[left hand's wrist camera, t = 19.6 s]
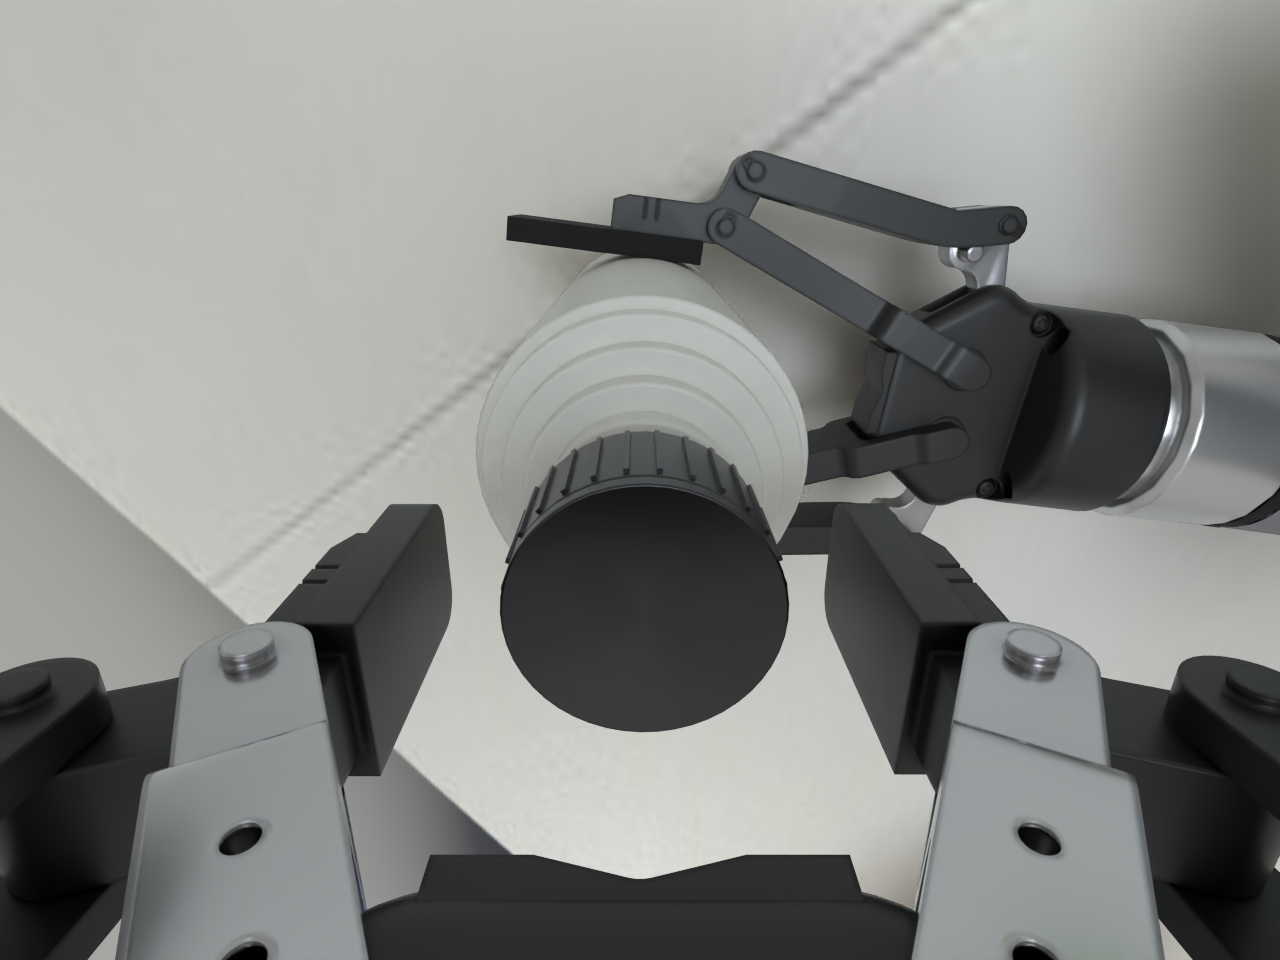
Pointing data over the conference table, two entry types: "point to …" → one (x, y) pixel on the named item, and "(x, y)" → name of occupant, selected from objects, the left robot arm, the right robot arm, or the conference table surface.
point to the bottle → (641, 386)
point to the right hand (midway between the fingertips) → (508, 342)
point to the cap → (644, 585)
